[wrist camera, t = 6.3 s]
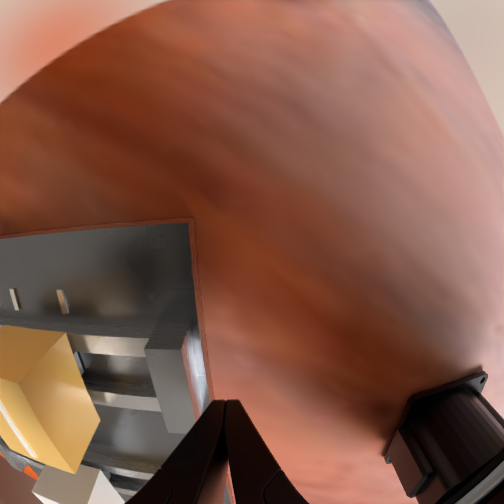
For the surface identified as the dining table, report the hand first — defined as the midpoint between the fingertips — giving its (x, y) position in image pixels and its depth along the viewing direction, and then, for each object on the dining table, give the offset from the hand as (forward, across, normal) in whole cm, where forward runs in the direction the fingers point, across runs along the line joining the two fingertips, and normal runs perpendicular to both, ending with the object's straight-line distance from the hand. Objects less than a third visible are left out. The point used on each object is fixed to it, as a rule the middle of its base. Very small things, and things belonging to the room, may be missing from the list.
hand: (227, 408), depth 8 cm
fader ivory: (+2, +9, +9) cm, 13 cm away
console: (+4, +9, +4) cm, 11 cm away
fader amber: (+2, +7, 0) cm, 8 cm away
